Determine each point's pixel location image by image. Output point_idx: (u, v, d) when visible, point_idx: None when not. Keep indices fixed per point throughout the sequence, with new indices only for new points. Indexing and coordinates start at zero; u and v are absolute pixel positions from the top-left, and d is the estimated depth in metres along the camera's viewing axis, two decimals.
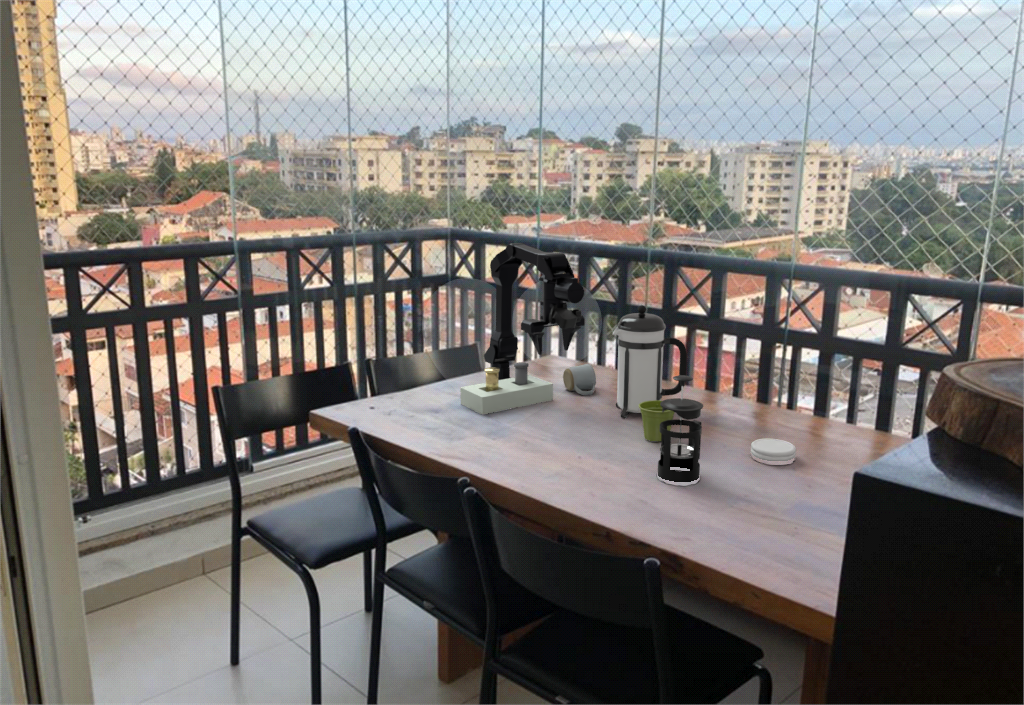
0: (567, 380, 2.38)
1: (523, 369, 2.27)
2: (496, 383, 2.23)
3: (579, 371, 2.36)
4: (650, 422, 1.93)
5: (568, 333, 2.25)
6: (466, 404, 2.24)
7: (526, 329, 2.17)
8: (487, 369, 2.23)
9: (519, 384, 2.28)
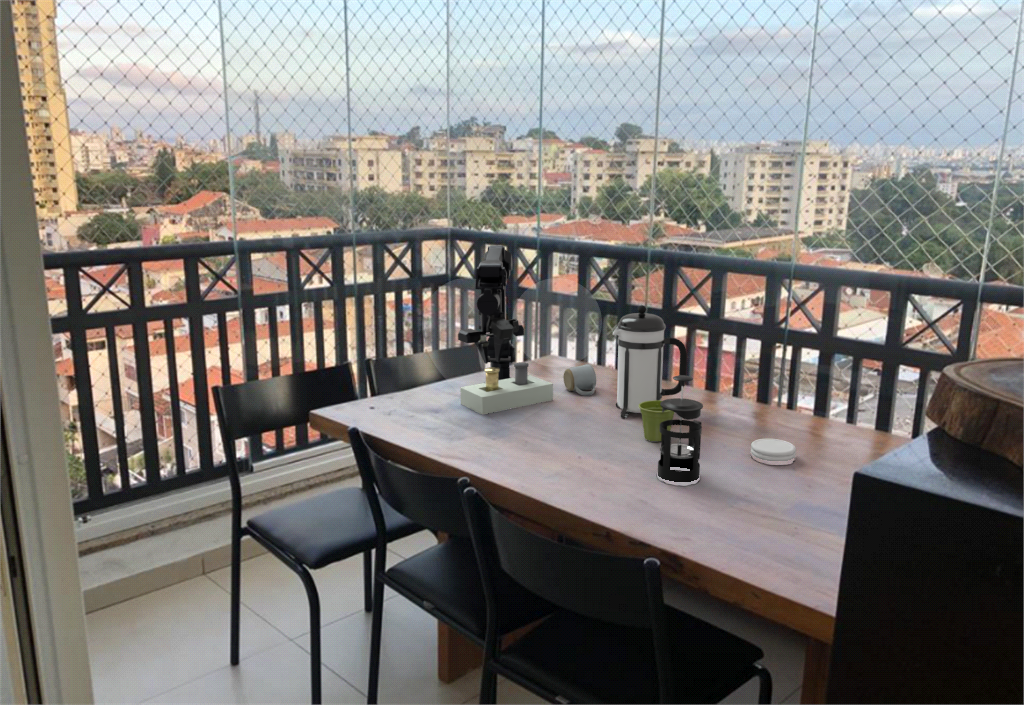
0: (567, 381, 2.38)
1: (523, 369, 2.27)
2: (496, 383, 2.23)
3: (580, 371, 2.36)
4: (650, 422, 1.93)
5: (499, 345, 2.22)
6: (466, 404, 2.24)
7: (463, 339, 2.15)
8: (487, 369, 2.23)
9: (519, 384, 2.28)
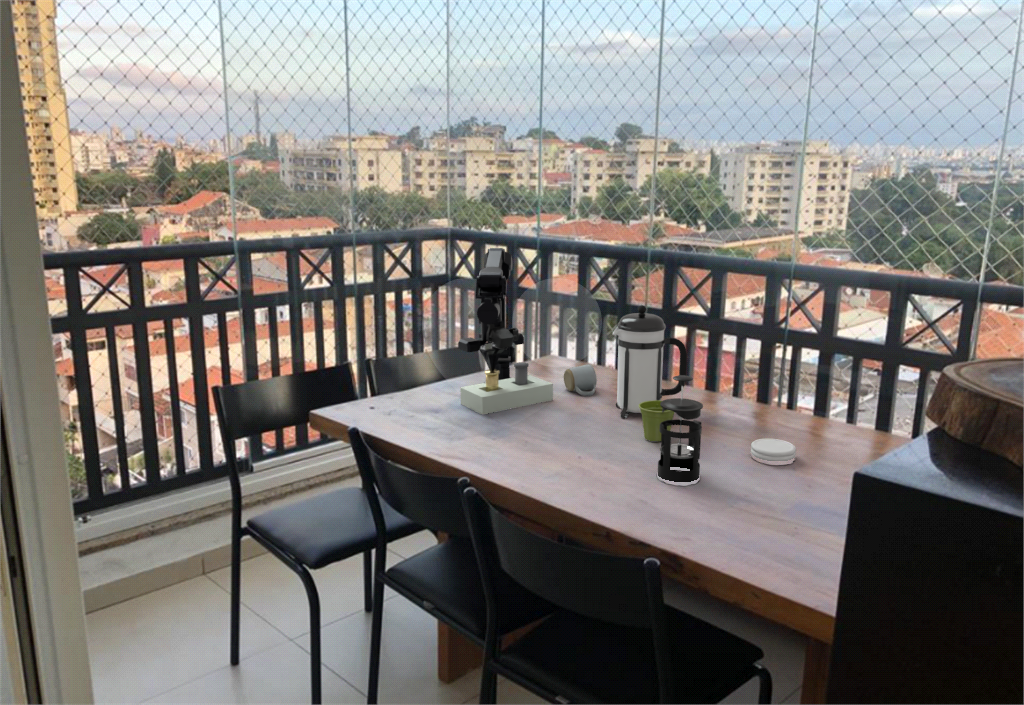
0: (567, 381, 2.38)
1: (523, 369, 2.27)
2: (496, 385, 2.23)
3: (580, 371, 2.36)
4: (650, 422, 1.93)
5: (494, 354, 2.22)
6: (466, 404, 2.24)
7: (463, 348, 2.16)
8: (487, 371, 2.23)
9: (519, 384, 2.28)
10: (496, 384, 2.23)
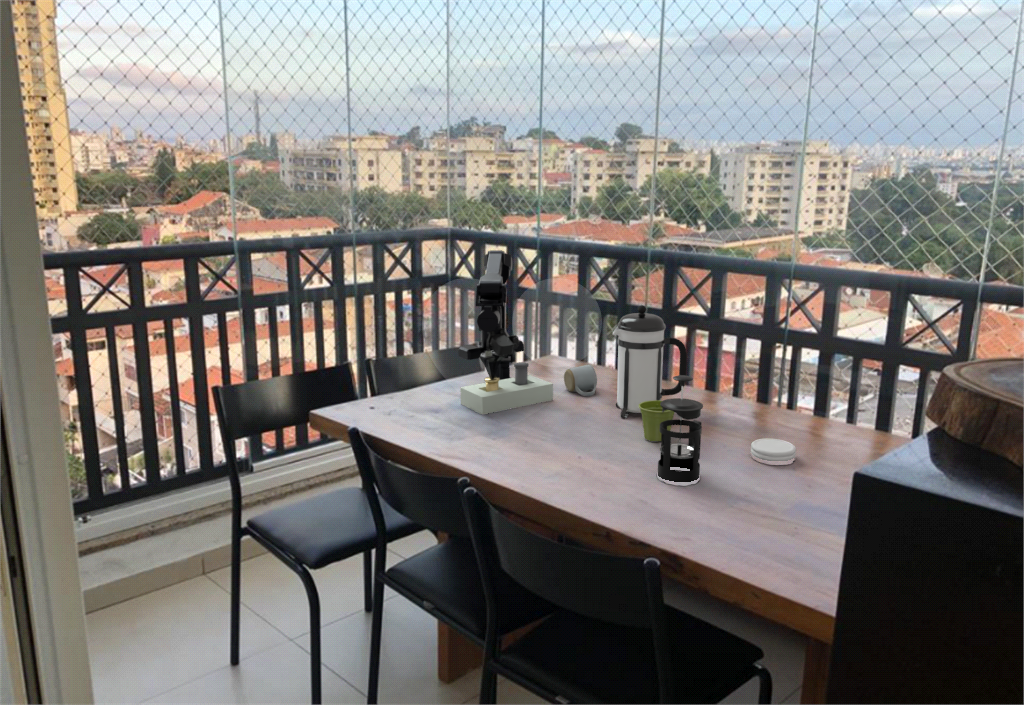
0: (567, 381, 2.37)
1: (523, 369, 2.27)
2: None
3: (580, 372, 2.35)
4: (650, 422, 1.93)
5: (494, 361, 2.22)
6: (466, 404, 2.24)
7: (463, 356, 2.17)
8: (487, 378, 2.23)
9: (519, 384, 2.28)
10: None
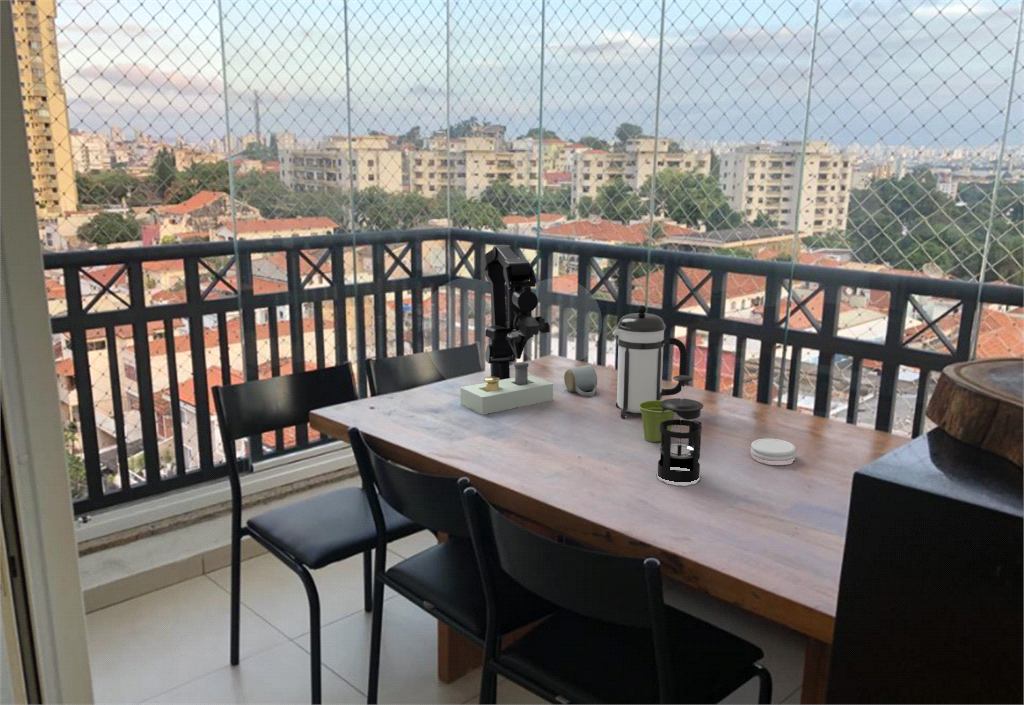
0: (568, 381, 2.37)
1: (523, 369, 2.27)
2: None
3: (580, 372, 2.35)
4: (650, 422, 1.93)
5: (520, 342, 2.26)
6: (466, 404, 2.24)
7: (490, 336, 2.21)
8: (487, 378, 2.23)
9: (519, 384, 2.28)
10: None
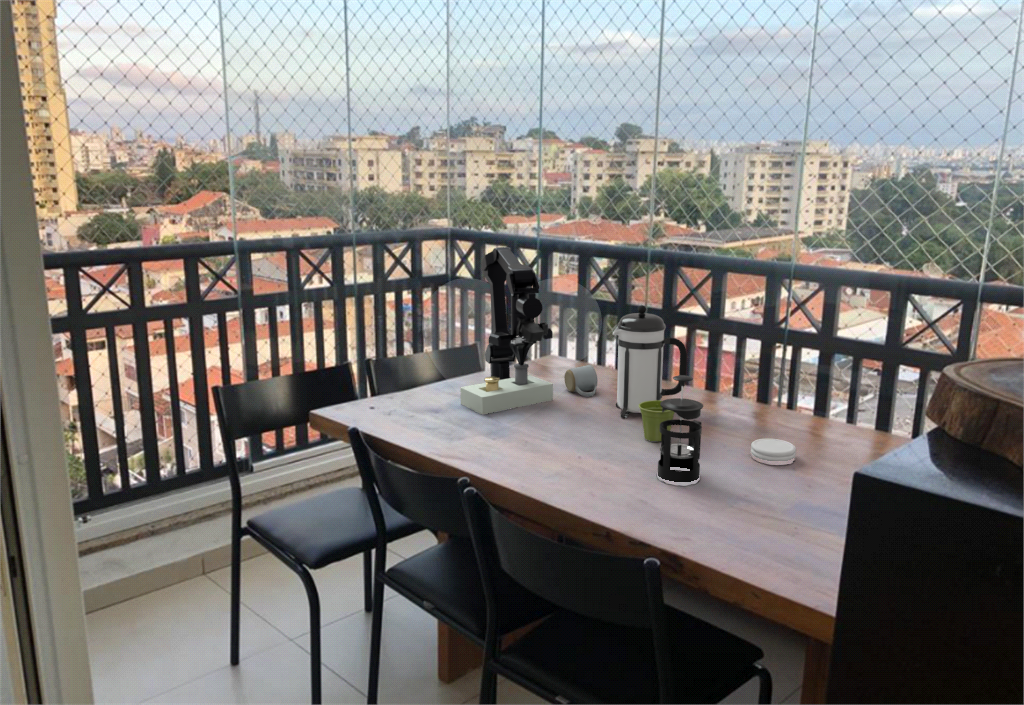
0: (568, 381, 2.37)
1: (523, 370, 2.27)
2: None
3: (581, 372, 2.35)
4: (650, 422, 1.93)
5: (523, 348, 2.27)
6: (466, 404, 2.24)
7: (494, 342, 2.21)
8: (487, 378, 2.23)
9: (519, 385, 2.28)
10: None
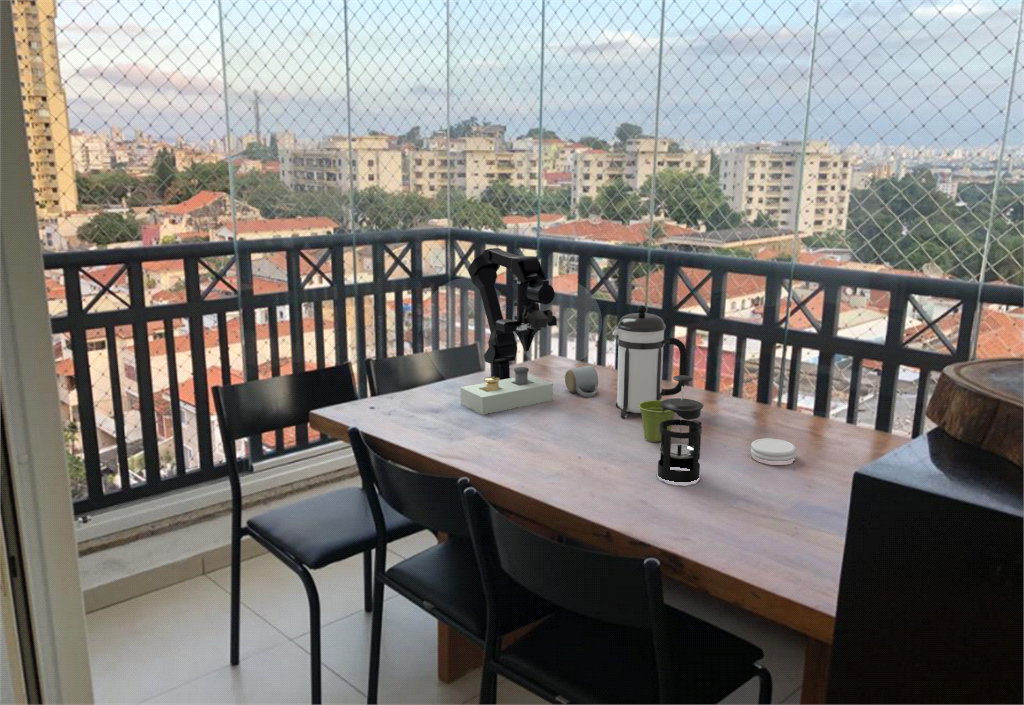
0: (568, 382, 2.37)
1: (523, 374, 2.27)
2: None
3: (581, 372, 2.35)
4: (650, 422, 1.93)
5: (529, 335, 2.34)
6: (466, 404, 2.24)
7: (500, 329, 2.29)
8: (487, 378, 2.23)
9: None
10: None
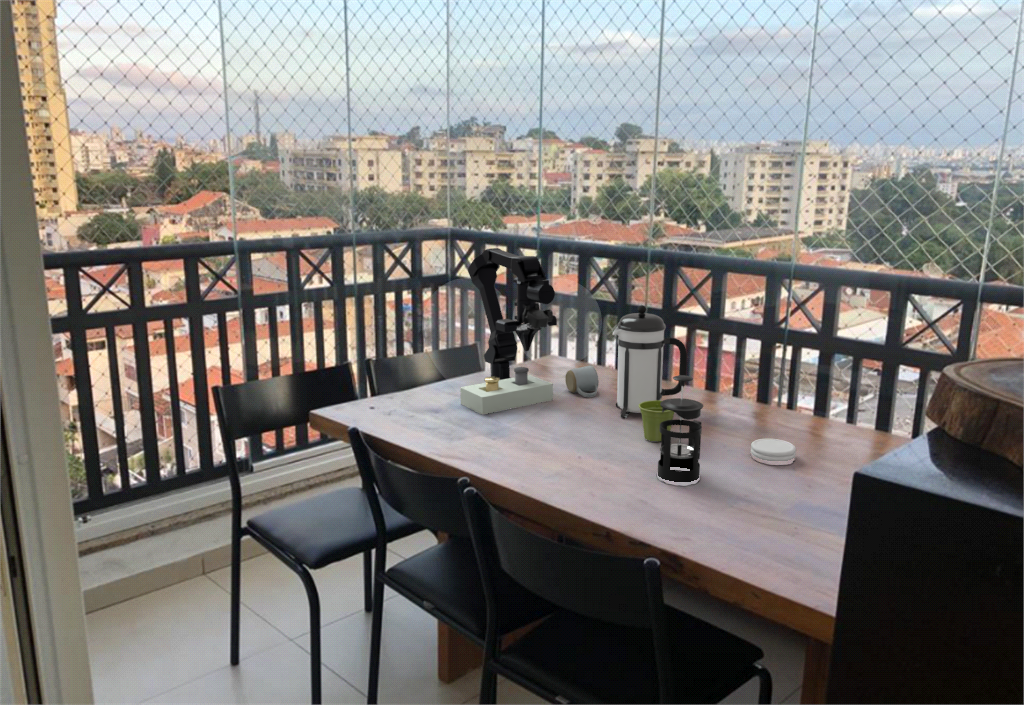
0: (569, 382, 2.36)
1: (523, 374, 2.27)
2: None
3: (582, 373, 2.34)
4: (650, 422, 1.93)
5: (529, 335, 2.34)
6: (466, 404, 2.24)
7: (500, 328, 2.29)
8: (487, 378, 2.23)
9: None
10: None
